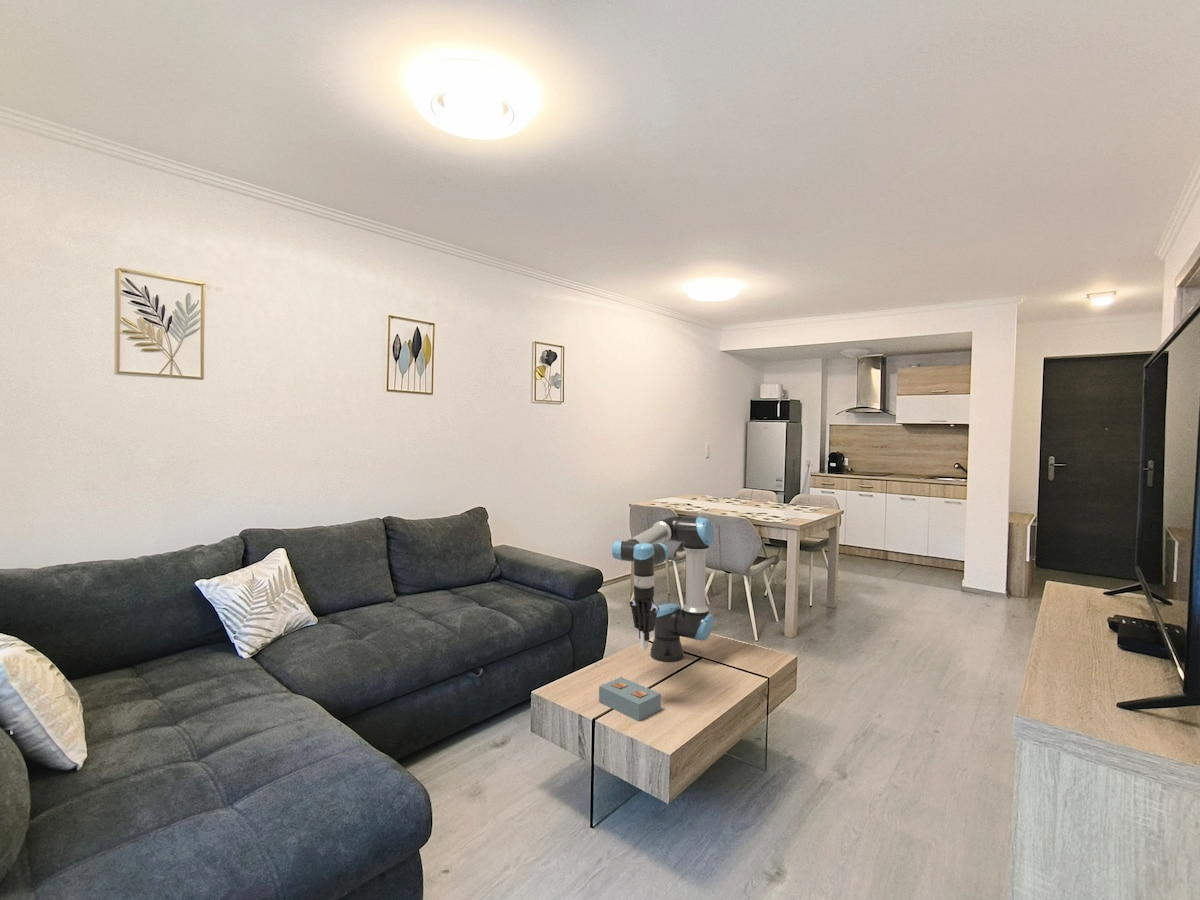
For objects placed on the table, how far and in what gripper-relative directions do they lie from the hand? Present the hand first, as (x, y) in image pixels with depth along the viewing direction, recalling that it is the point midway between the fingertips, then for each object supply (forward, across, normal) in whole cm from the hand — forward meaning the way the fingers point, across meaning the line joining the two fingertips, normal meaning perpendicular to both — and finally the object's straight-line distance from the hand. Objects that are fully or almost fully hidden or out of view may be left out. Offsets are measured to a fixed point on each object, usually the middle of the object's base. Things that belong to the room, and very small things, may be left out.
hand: (644, 648), depth 209 cm
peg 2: (+20, +3, -6) cm, 21 cm away
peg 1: (+21, -7, -6) cm, 23 cm away
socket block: (+21, -2, -6) cm, 22 cm away
